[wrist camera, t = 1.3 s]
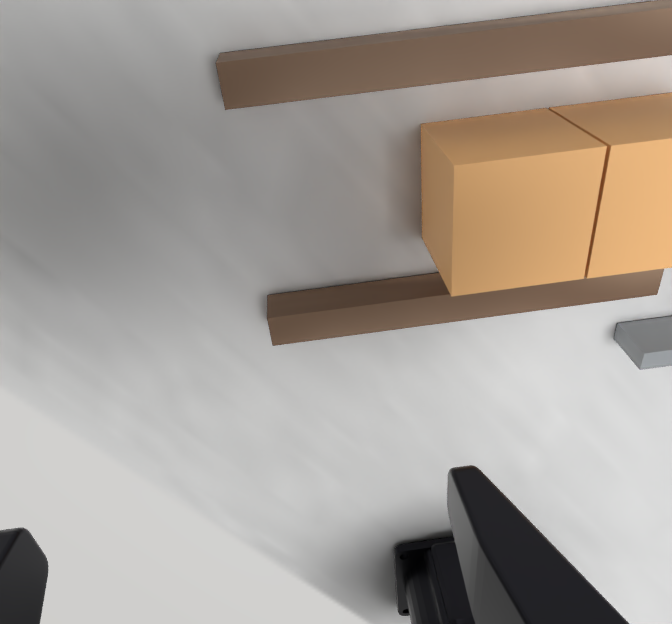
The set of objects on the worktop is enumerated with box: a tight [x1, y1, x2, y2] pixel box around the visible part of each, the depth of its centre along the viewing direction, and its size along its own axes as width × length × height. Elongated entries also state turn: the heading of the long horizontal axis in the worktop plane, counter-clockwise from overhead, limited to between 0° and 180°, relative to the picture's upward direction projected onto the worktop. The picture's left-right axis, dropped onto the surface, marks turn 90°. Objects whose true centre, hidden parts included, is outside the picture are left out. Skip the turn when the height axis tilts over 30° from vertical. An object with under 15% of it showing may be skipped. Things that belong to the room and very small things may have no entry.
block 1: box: [421, 108, 607, 297], centre depth 17 cm, size 4×4×4 cm
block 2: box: [549, 93, 672, 279], centre depth 17 cm, size 4×4×4 cm
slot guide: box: [216, 0, 672, 346], centre depth 18 cm, size 9×14×2 cm
